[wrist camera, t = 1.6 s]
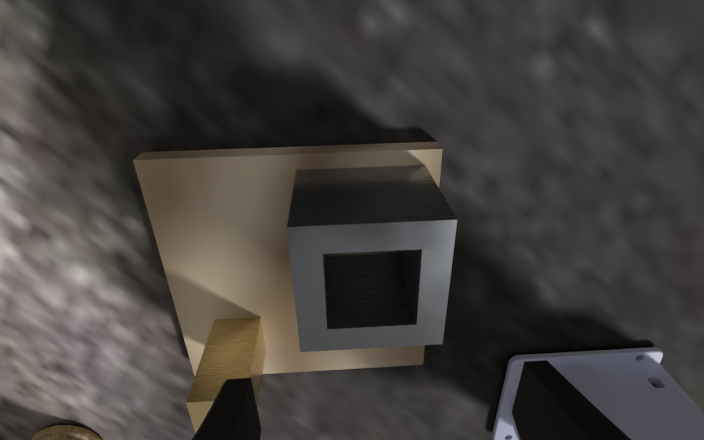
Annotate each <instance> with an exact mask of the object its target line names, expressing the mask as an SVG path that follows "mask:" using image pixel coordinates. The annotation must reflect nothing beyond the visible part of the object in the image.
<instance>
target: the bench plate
mask: <svg viewBox="0 0 704 440" xmlns="http://www.w3.org/2000/svg"><path fill="white" fill-rule="evenodd" d="M441 160H442V148H441V146H440V145H439V144H438V142H413V143H385V144H357V145H329V146H301V147H273V148H245V149H217V150H189V151H161V152H142V153H141V154H140V155H138V156H137V157H136V158H135V159H134V160H133V162H134V166H135V169H136V173H137V176H138V180H139V183H140V187H141V190H142V194H143V197H144V201H145V204H146V208H147V211H148V215H149V218H150V222H151V225H152V229H153V232H154V236H155V239H156V243H157V246H158V250H159V253H160V257H161V260H162V264H163V267H164V271H165V274H166V278H167V281H168V285H169V288H170V292H171V295H172V299H173V302H174V306H175V309H176V313H177V316H178V320H179V323H180V327H181V330H182V334H183V337H184V341H185V344H186V348H187V351H188V355H189V358H190V362H191V365H192V369H193V372H194V375H196V372H197V369H198V366H199V363H200V360H201V357H202V354H203V351H204V348H205V345H206V342H207V339H208V337H209V334H210V331H211V328H212V325H213V322H214V320H215V319H234V318H253V317H261V321H262V327H263V333H264V340H265V346H266V355H265V361H264V367H263V373H262V374H271V373H288V372H305V371H323V370H340V369H357V368H374V367H391V366H409V365H423V361H424V349H425V345H420V346H402V347H384V348H366V349H348V350H331V351H313V352H300V345H299V335H298V326H297V317H296V307H295V298H294V289H293V279H292V270H291V261H290V251H289V242H288V233H287V223H288V217H289V211H290V205H291V199H292V193H293V187H294V180H295V174H296V170H305V169H331V168H358V167H384V166H410V165H426V167H427V169H428V170H429V172H430V174H431V176H432V177H433V179H434V181H435V182H436V184H437V186H438V188H439V183H440V172H441ZM382 253H397V251H375V252H354V253H332V254H327V256H340V255H361V254H382Z"/></svg>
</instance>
